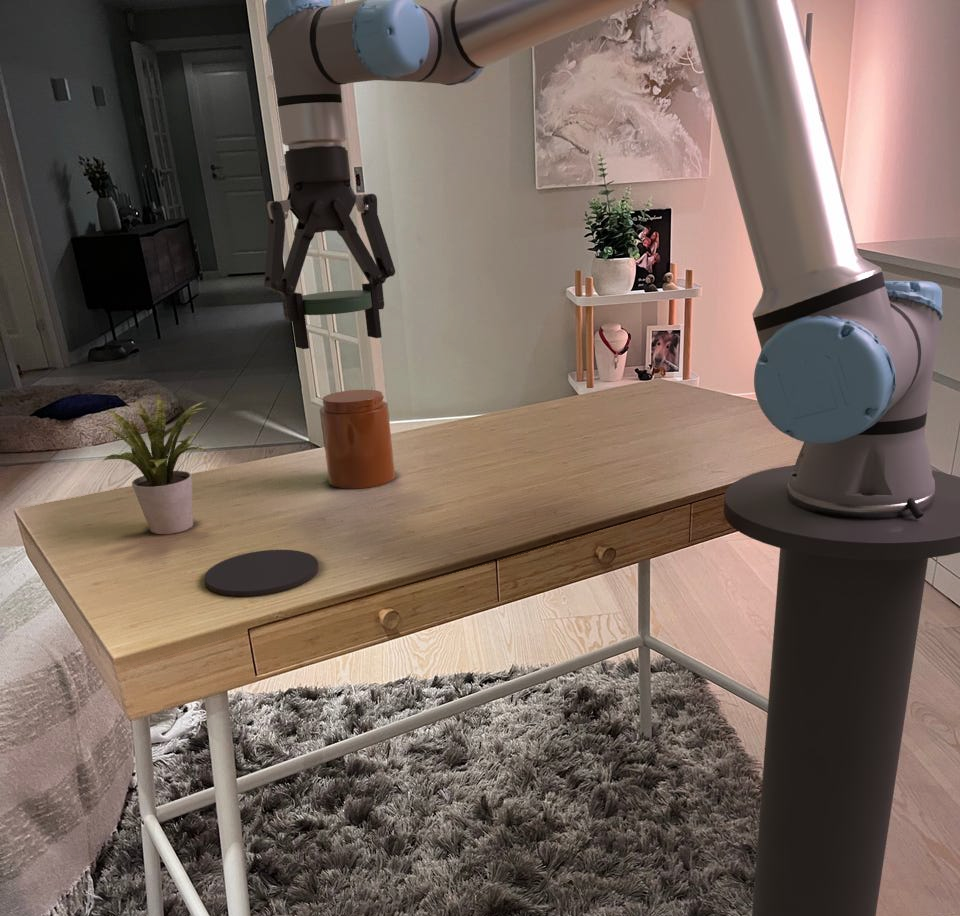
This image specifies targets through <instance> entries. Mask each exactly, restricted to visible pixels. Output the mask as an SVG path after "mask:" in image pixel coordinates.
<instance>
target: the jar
mask: <svg viewBox="0 0 960 916" xmlns="http://www.w3.org/2000/svg"><path fill="white" fill-rule="evenodd" d="M384 397H385V396H384V395H383V392H382V391H379V390H376V389H375V390H374V389H351V390H349V389H348V390H343V391H337V392H332V393H329V394H326V395H324V396H323V397H322V405H323V406H322V407H321V408H320V409H319V415H320V416H319V417H320V425H321V430H322V431H321V433H322V440H323V447H324V455H325V461H326V469H327V470H326V471H327V477H328V478H327V479H328V483H329V485H330V486H332V487H335V488H339V489H348V490H352V489H353V490H355V489H356V490H357V489H367V488H374V487H378V486H382V485H385V484H388V483H390V482H391V481H393V480H394V479H395V478H396V471H395V459H394V451H393V450H394V449H393V442H392V433H391V432H392V431H391V424H390V423H391V422H390V413H389V404H388V402H386V401H384Z"/></svg>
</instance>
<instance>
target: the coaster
mask: <svg viewBox="0 0 960 916" xmlns="http://www.w3.org/2000/svg"><path fill="white" fill-rule="evenodd" d="M319 568H320V567H319V561H318V560H317V558H316V557H315V556H314V555H312V554H311V553H308V552H305V551H300V550H295V549H266V550H257V551H251V552H247V553H243V554H239V555H235V556H232V557H229V558H226V559H224V560H221V561H219V562H217V564H214V565H213V566H212V567H210V568H209V569H208V570H207V571H206V572H205V574H204V583H205V587H207V589H208V590H210V591H212V592H214V593H215V594H220V595H224V596H229V597H256V596H263V595H264V596H265V595H269V594H276V593H280V592H283V591H287V590H290V589H294V588H297V587H298V586H302V585H303V584H304V583H307V582H308V581H310V580H311V579H312V578H314V577H316V574H317V573H318V572H319Z"/></svg>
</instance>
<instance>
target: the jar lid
mask: <svg viewBox="0 0 960 916" xmlns="http://www.w3.org/2000/svg"><path fill="white" fill-rule="evenodd" d="M302 299H303V306H304V313H305V316H328V315H339V314H347V313H348V314H349V313H355V312H361V311H365V310H366V309H369V308H371V307H372V299H371V292H370V291H366V290H363V289H352V290H351V289H350V290H348V289H347V290H334V291H323V292H316V293H315V292H314V293H309V294H302Z"/></svg>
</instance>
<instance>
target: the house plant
mask: <svg viewBox="0 0 960 916" xmlns="http://www.w3.org/2000/svg"><path fill="white" fill-rule="evenodd" d="M133 397H134V401H135V402H136V405H137V407H138V409H139V412H140V413H137V416H139V417H140V418H141V420H142V422H143V423H144V425H145V429H146V433H147V437H148V439H149V442H150V450H149V447H148V445H147V443H146V441H145V439H144V438H143V436H142V435H141V433H140V430H139V429H138V427H137V425H136V424H135V423H134V422H133V420H130V422H129V420H127V419H126V418H124V417H122V416H121V415H119V414H118V413H117V412H115V411H112V410H109V409H106V411H107V412H108V414H110V415H111V417H112V418H114V419H115V421H116V422H117V423H118V425H119V426H120V427H121V429H122V431H123V433H124V434H125V435H126V436H125V435H124V434H122V433H121V432H119V431H118V430H116V429H115V428H113V427H111V426H109V425H108V424H105V423H101V422H100V425H102V426H103V427H105V428H107V429H108V430H110V431H111V432H113V434H114V435H116V436H118V438H120V439H122V440H123V441H124V443H126V444H127V445H128V446H129V447H130V448H131V452H127V451H126V452H123V453H120V454H117V453H114V454H110V455H107V456H105V457H104V459H103V460H102V462H104V461H108V460H124V461H128V462H130V463H132V464H133V465H135V467H137V469H138V470H139V471H140V472H141V474H142V475H141V476H139V477H136V478H135V479H134V480H132V481H131V485H132V488H133V490H134V493H135V495H136V498H137V502H138V504H139V505H140V508H141V511H142V513H143V516H144V518H145V521H146V522H147V525H148V529H149V530H150V532H151V533H153V534H157V535H172V534H177V533H181V532H184V531H187V530H189V529H191V528H192V527H193V526H194V509H193V507H194V506H193V477H192V474H191V473H190V472H189V471H185V470H179V469H181V467H182V465H183V463H185V461H186V460H187V459H188V458H189V456H190V455H191V454H192V453H193V452H194V451H196V450H198V451H203V452H205V453H207V454H209V452H208V451H207V450H206V449H204V448H203V447H204V446H206V444H199V445H197V444H196V443H190V442H189V441H190V439H191V438H192V437H194V436H196V435H198V434H200V433H201V431H200V432H195V433H193V434H190V435H188V436H186V437H185V438H184V439H181V440H178V439H179V437H180V435H181V432H182V430H183V428H184V427H185V426H186V425H193V424H195V422H191V421H194V420H196V417H195V418H191V417H192V415H194V414H196V413H199V412H200V411H201V410H205V409H207V407H199V408H197V407H198V406H200V405H202V404H204V403H205V402H207V401H208V400H204V401H201V402H199V403H196V404H194V405H192V406H190V407H189V408H188V409H186V410H185V411H184V412H183V413H182V414H181V415H180V416H179V418H178V419H177V420H176V422H175V424H174V425H173V426H170V427H169V428H167V429H166V425H167V418H168V417H167V414H166V411H165V408H166V406H165V405H166V403H165V400H163V401H162V398H161V396H160V393H158V394H157V399H156V409H155V412H154V417H153V420H151V419H150V416H149V415H148V413H147V412H146V410H145V408H144V407H143V405H142V403H141V402H140V401H139V399H137V398H136V397H135V396H133ZM190 418H191V419H190ZM168 435H169V436H168ZM167 436H168V438H167V441H166V443H165V438H166V437H167ZM177 443H180V444H178V445H177ZM193 445H194V446H193ZM187 451H191V452H190V453H189V454H188V456H187V457H186V458H185V459H184V461H182V463H181V464H180V466H179V467H178V468H177V469H176V470H174V469H175V467H176V465H177V462H178V459H179V457H180V456H181V455H182V454H183V453H185V452H187Z"/></svg>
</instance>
